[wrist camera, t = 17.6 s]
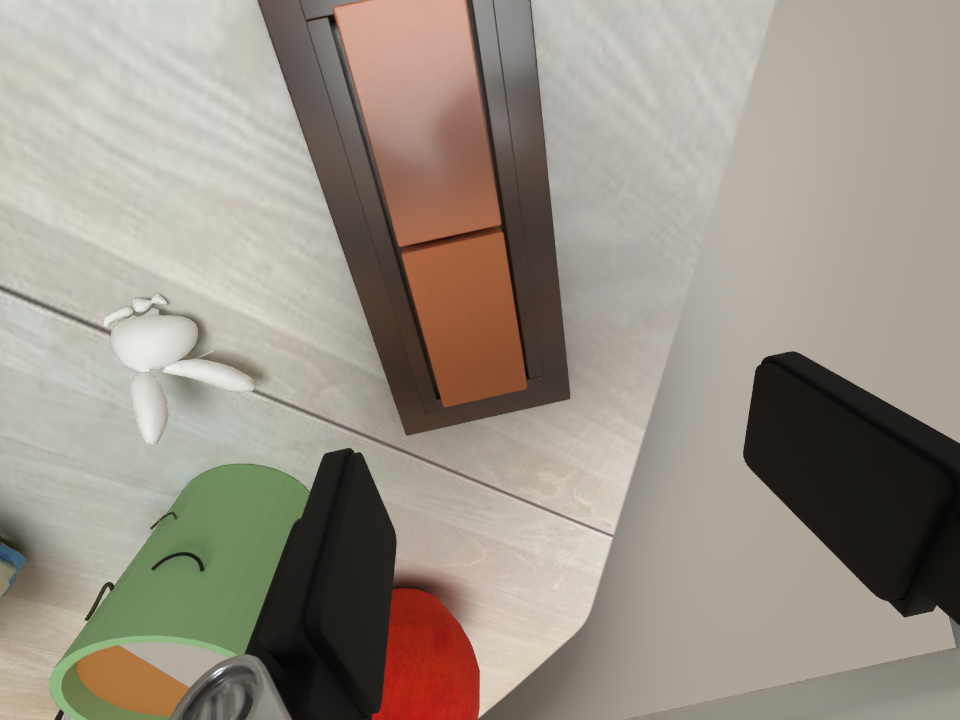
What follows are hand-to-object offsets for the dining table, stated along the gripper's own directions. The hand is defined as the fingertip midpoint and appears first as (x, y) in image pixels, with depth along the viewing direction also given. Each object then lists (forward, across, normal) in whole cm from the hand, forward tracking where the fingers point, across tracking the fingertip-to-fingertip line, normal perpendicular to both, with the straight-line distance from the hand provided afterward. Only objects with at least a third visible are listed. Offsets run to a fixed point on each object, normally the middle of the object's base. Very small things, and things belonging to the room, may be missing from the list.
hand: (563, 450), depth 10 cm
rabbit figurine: (+18, +19, +2) cm, 26 cm away
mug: (+17, +23, +15) cm, 32 cm away
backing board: (+18, +2, -2) cm, 18 cm away
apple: (+17, +13, +30) cm, 37 cm away
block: (+16, +2, +2) cm, 17 cm away
